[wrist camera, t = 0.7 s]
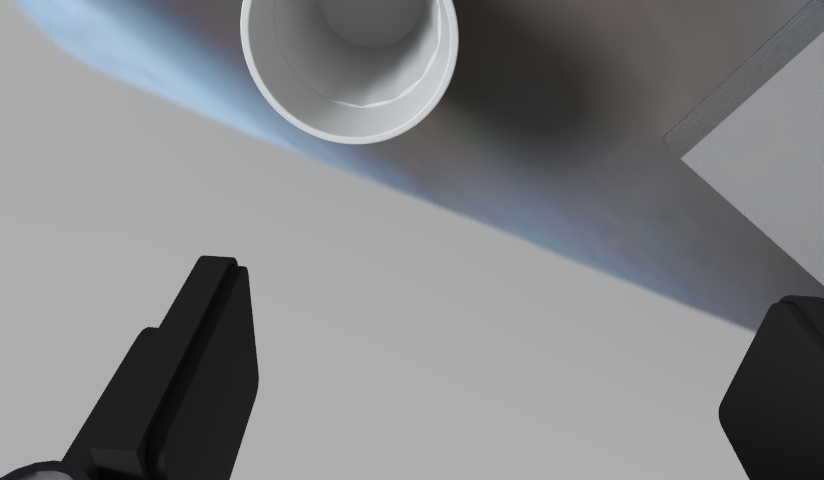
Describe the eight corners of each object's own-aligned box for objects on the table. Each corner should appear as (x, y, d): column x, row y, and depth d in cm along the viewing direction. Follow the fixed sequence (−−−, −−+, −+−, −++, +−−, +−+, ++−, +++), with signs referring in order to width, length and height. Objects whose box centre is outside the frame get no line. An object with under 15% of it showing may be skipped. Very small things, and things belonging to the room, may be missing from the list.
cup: (466, 32, 33) (486, 105, 23) (337, 81, 34) (301, 170, 24) (416, -125, 29) (412, -122, 19) (272, -61, 31) (197, -26, 20)
